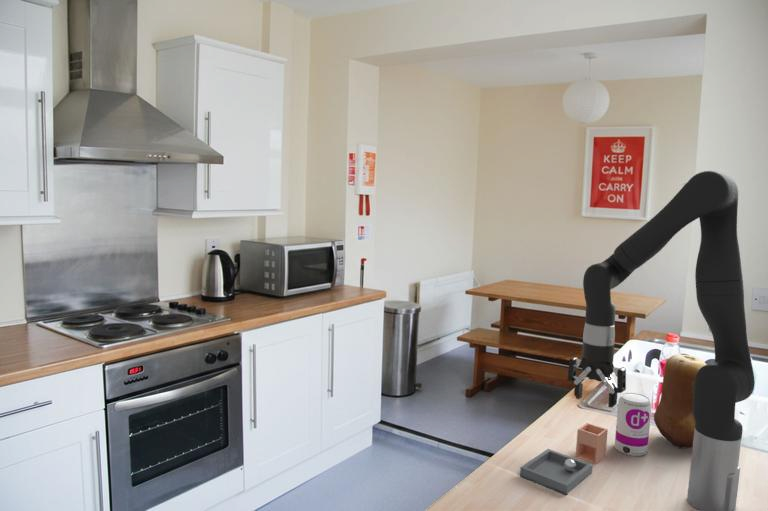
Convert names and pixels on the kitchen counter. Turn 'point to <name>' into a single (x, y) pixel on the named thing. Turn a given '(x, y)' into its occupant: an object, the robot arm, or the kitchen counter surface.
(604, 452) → the open box
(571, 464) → the ball
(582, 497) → the kitchen counter surface
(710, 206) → the robot arm
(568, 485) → the tray
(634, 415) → the supplement can
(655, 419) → the butternut squash
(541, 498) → the kitchen counter surface
